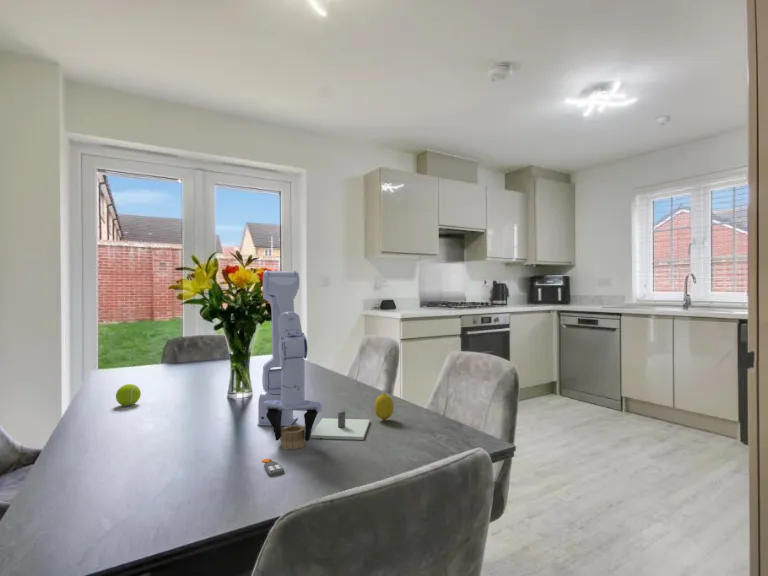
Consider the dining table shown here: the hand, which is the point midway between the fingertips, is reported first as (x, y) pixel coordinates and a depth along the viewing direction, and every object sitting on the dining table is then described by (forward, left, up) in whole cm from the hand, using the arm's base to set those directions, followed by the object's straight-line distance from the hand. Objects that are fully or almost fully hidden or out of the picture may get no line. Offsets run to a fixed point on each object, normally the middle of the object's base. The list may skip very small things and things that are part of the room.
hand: (292, 439), depth 103 cm
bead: (0, 0, -1) cm, 1 cm away
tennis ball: (-65, +29, -2) cm, 71 cm away
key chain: (-2, -11, -2) cm, 11 cm away
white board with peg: (+10, +12, -1) cm, 16 cm away
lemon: (+21, +21, -2) cm, 30 cm away
